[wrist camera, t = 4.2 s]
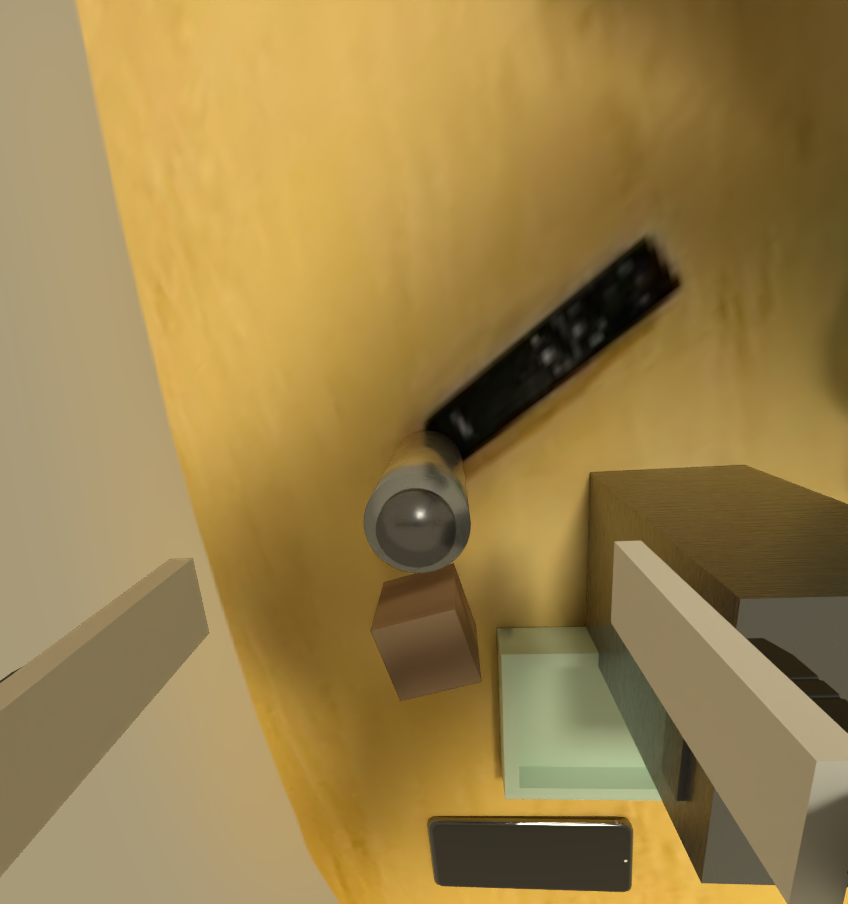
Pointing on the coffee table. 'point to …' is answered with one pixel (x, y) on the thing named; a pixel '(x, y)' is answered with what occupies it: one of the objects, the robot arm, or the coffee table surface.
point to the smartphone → (532, 852)
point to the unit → (734, 597)
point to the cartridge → (420, 505)
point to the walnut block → (426, 633)
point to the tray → (563, 721)
